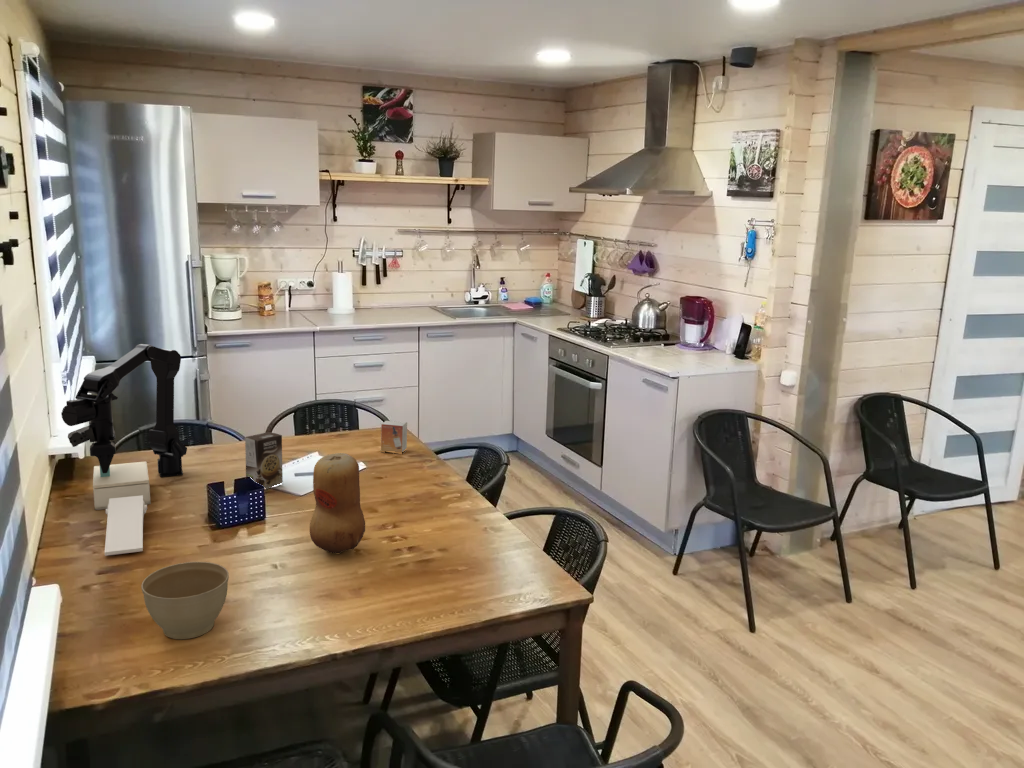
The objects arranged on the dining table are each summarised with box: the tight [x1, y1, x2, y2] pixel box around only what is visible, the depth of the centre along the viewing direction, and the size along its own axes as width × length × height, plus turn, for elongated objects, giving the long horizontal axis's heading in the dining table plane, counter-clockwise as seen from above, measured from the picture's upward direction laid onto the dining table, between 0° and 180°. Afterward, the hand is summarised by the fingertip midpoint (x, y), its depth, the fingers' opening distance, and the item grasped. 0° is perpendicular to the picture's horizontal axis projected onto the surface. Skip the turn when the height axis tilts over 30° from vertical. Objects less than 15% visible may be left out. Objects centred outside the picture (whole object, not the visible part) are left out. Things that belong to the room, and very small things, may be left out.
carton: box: [92, 482, 151, 511], centre depth 231 cm, size 14×18×6 cm
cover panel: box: [92, 461, 150, 489], centre depth 230 cm, size 14×18×6 cm
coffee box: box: [244, 431, 284, 490], centre depth 243 cm, size 9×6×16 cm
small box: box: [380, 420, 408, 452], centre depth 283 cm, size 8×6×10 cm
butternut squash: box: [309, 452, 366, 554], centre depth 198 cm, size 14×13×25 cm
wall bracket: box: [104, 495, 148, 556], centre depth 206 cm, size 10×7×28 cm
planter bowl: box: [140, 561, 230, 640], centre depth 161 cm, size 16×16×11 cm
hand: (105, 470), depth 228 cm, fingers closed on cover panel, 4 cm apart
